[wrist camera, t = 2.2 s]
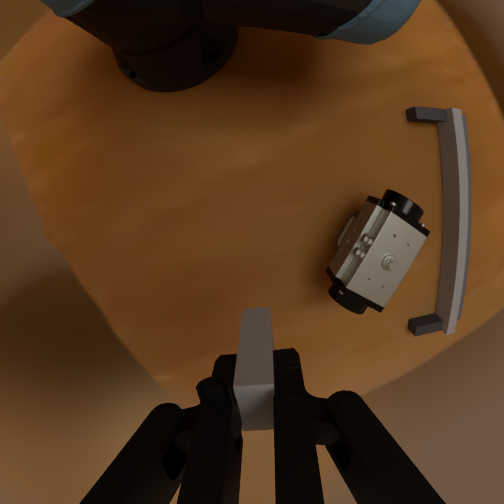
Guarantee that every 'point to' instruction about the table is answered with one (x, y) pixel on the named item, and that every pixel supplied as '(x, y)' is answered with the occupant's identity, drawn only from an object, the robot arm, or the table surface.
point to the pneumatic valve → (376, 252)
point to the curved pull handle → (450, 218)
